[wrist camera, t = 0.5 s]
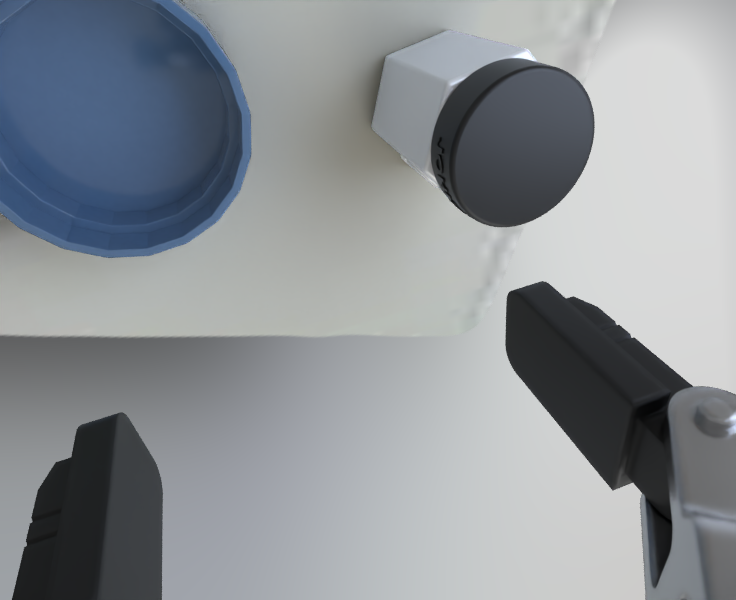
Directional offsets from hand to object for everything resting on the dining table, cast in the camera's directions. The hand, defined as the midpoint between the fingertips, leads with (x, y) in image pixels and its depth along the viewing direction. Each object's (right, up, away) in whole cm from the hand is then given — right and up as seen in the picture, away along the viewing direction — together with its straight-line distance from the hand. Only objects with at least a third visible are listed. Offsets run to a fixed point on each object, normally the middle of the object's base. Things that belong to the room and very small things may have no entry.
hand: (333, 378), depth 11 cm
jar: (+5, +15, +25) cm, 30 cm away
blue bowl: (-14, +13, +19) cm, 27 cm away
